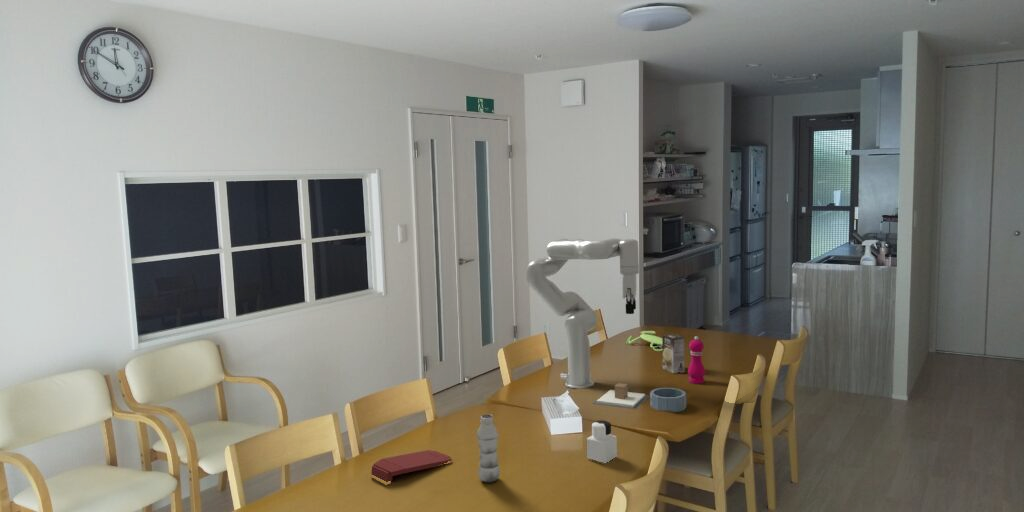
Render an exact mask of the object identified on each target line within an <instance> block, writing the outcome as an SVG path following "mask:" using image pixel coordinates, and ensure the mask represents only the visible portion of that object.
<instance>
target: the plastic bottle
mask: <svg viewBox="0 0 1024 512" xmlns="http://www.w3.org/2000/svg"><path fill="white" fill-rule="evenodd" d="M476 437H477V438H476V439H477V442H478V450H479V463H478V464H479V465H478V470H477V471H478V473H477V474H478V476H479V479H480V481H482V482H483V481H484V482H483V483H494V482H496V481H497V480H498V479H499V477H500V473H501V470H500V466H499V462H498V461H499V460H498V440H499V439H498V438H499V432H498V429H497V428H496V426H495V425H494V417H493V414H490V413H489V414H488V413H486V414H482V415H481V416H480V426H479V428H478V429H477V432H476ZM493 481H494V482H493Z"/></svg>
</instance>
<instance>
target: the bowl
mask: <svg viewBox="0 0 1024 512" xmlns="http://www.w3.org/2000/svg"><path fill="white" fill-rule="evenodd" d="M649 396H650V397H649V404H650V407H651V408H652V409H654V410H657V411H661V412H662V411H663V412H672V413H679V412H683V411H685V409H687V393H686V392H685V390H682V389H681V388H677V387H676V388H675V387H659V388H654V389H652V390H651V391H649Z"/></svg>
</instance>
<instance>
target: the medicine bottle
mask: <svg viewBox="0 0 1024 512" xmlns="http://www.w3.org/2000/svg"><path fill="white" fill-rule="evenodd" d="M617 438H618V437H617V435H614V434H612V424H611V422H609V421H607V420H603V419H600V420H595V421H593V422H592V424H591V435H590V436H589V437H587V438H586V459H587V458H589V459H593V460H596V461H599V462H603V463H607V462H608V463H609V461H610V460H612V459H613V458H615V457H616V458H618V445H617V444H618V439H617ZM616 458H615V459H616ZM613 460H614V459H613ZM613 460H612V461H613ZM599 462H598V463H599ZM610 462H611V461H610ZM603 463H602V464H603ZM608 463H607V464H608Z"/></svg>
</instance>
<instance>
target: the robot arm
mask: <svg viewBox="0 0 1024 512" xmlns="http://www.w3.org/2000/svg"><path fill="white" fill-rule="evenodd" d="M545 252H546V254H547V256H545V257H541V258H536V259H534V260H533V261H531V262H530V263H528V265H527V267H526V270H525V277H526V281H527V283H528V285H529V286H530V288H531V289H532V291H534V292H535V293H536V294H537V295H538V296H539V297H540V299H542V301H543V302H544V303H545V304H546V305H547V306H548V307H549V308H550V310H551V311H552V312H553V313H554V314H555V315H556V316H558V317H564V316H567V317H566V319H565V321H564V330H565V334H566V343H567V345H566V347H567V349H566V350H567V373H562V372H561V373H560V375H559V378H560V379H561V380H565V381H564V386H565V387H567V388H569V389H585V388H586V389H587V388H591V387H592V386H594V385H595V381H594V380H592V379H591V355H590V354H591V353H590V352H591V349H590V346H591V345H590V339H589V336H588V332H590V331H592V330H593V329H595V328H596V327H597V325H598V323H599V322H598V321H599V318H598V316H597V313H596V312H595V311H594V310H593V308H592V307H591V306H590V305H589V304H588V303H587V302H586V301H585V300H584V299H583V298H582V296H580V295H579V294H578V293H576V292H575V291H566V292H563V291H562V290H561V289H560V288H559V287H558V286H557V285H556V284H555V283H554V282H553V281H551V280H549V279H548V277H551V276H553V275H555V274H557V273H558V272H559V271H560V270H561V269H562V268H563V266H565V265H566V263H567V262H568V261H569V260H588V261H589V260H591V261H592V260H593V261H594V260H609V259H611V258H616V257H619V273H620V275H622V299H625V314H626V315H634V314H635V310H636V309H637V304H636V303H637V301H636V296H637V275H638V274H640V265H639V264H640V263H639V261H640V260H639V259H640V258H639V242H638V240H637V239H631V238H627V239H621V238H609V239H604V240H593V241H589V240H587V241H585V240H584V239H582V238H581V239H580V238H576V239H569V238H558V239H555V240H552V241H550V242H549V243H548V244H547V247H546V251H545ZM568 315H569V316H568Z"/></svg>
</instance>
